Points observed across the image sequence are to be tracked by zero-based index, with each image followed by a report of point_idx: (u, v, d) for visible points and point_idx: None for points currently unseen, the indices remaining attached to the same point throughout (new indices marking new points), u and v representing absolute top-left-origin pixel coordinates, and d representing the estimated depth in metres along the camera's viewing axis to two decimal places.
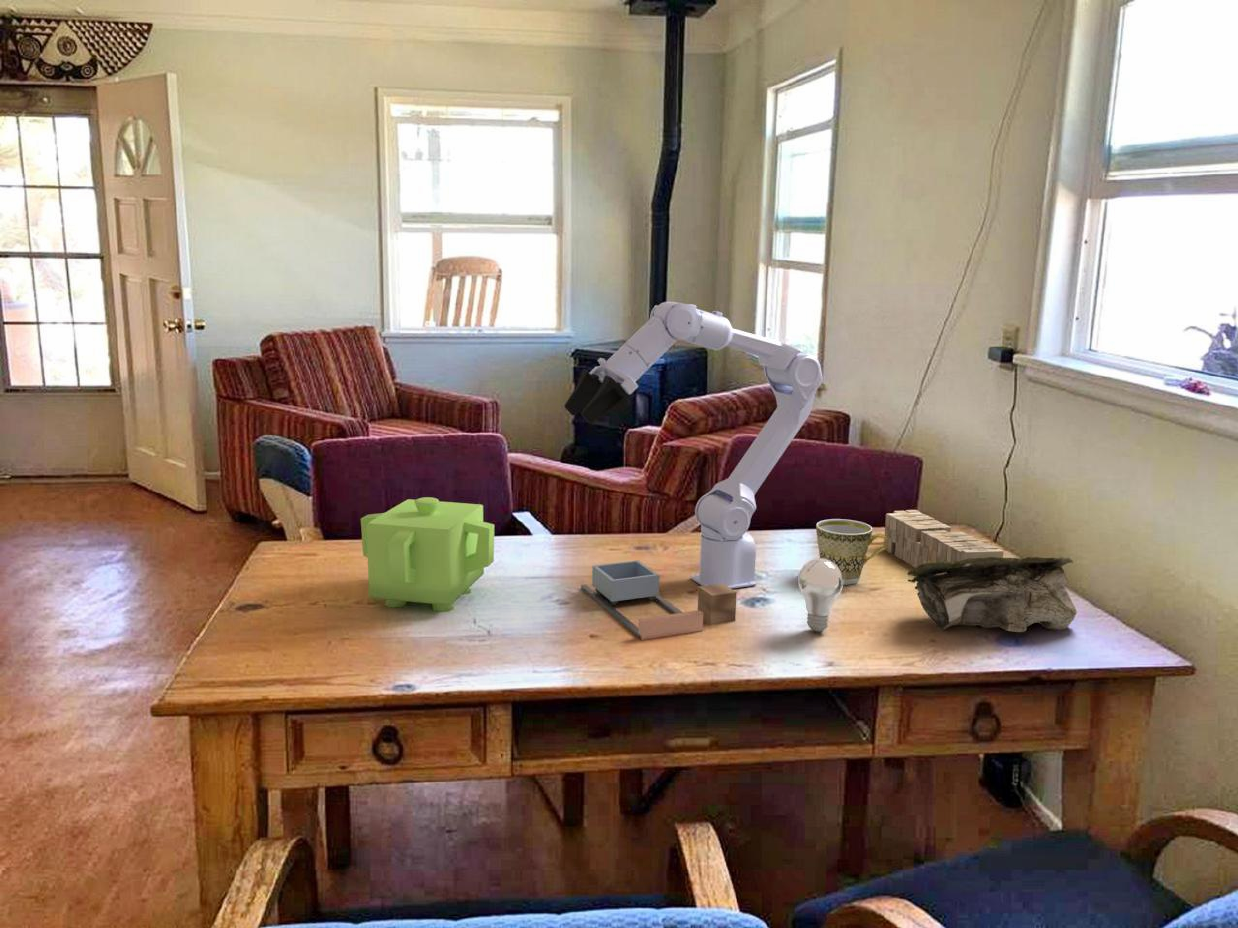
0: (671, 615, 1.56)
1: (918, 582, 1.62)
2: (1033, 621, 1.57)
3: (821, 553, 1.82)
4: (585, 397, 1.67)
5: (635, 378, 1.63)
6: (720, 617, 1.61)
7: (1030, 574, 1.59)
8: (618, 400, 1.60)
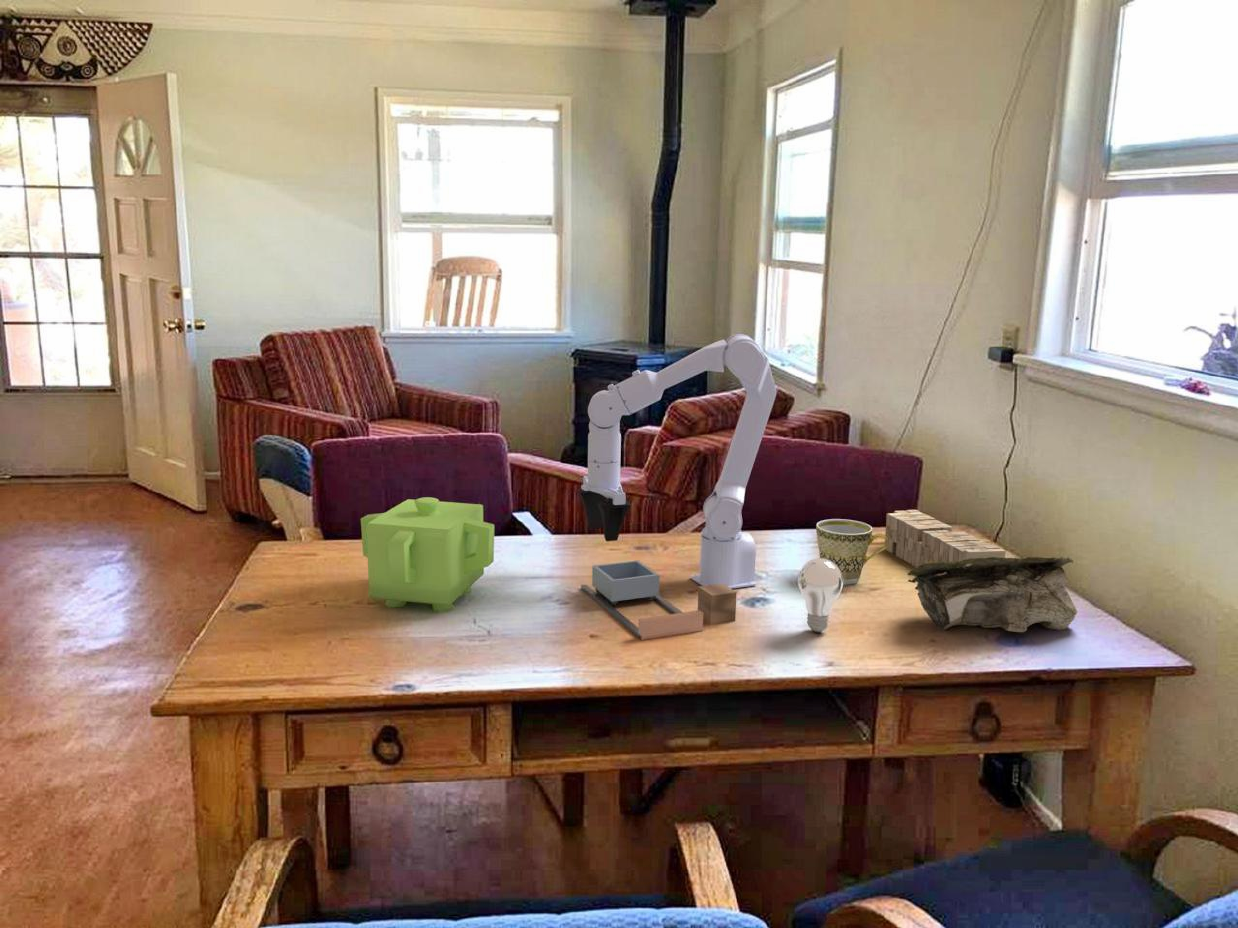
0: (671, 615, 1.56)
1: (918, 582, 1.62)
2: (1033, 621, 1.57)
3: (821, 553, 1.82)
4: (597, 509, 1.82)
5: (618, 477, 1.75)
6: (720, 617, 1.61)
7: (1030, 574, 1.59)
8: (621, 510, 1.74)
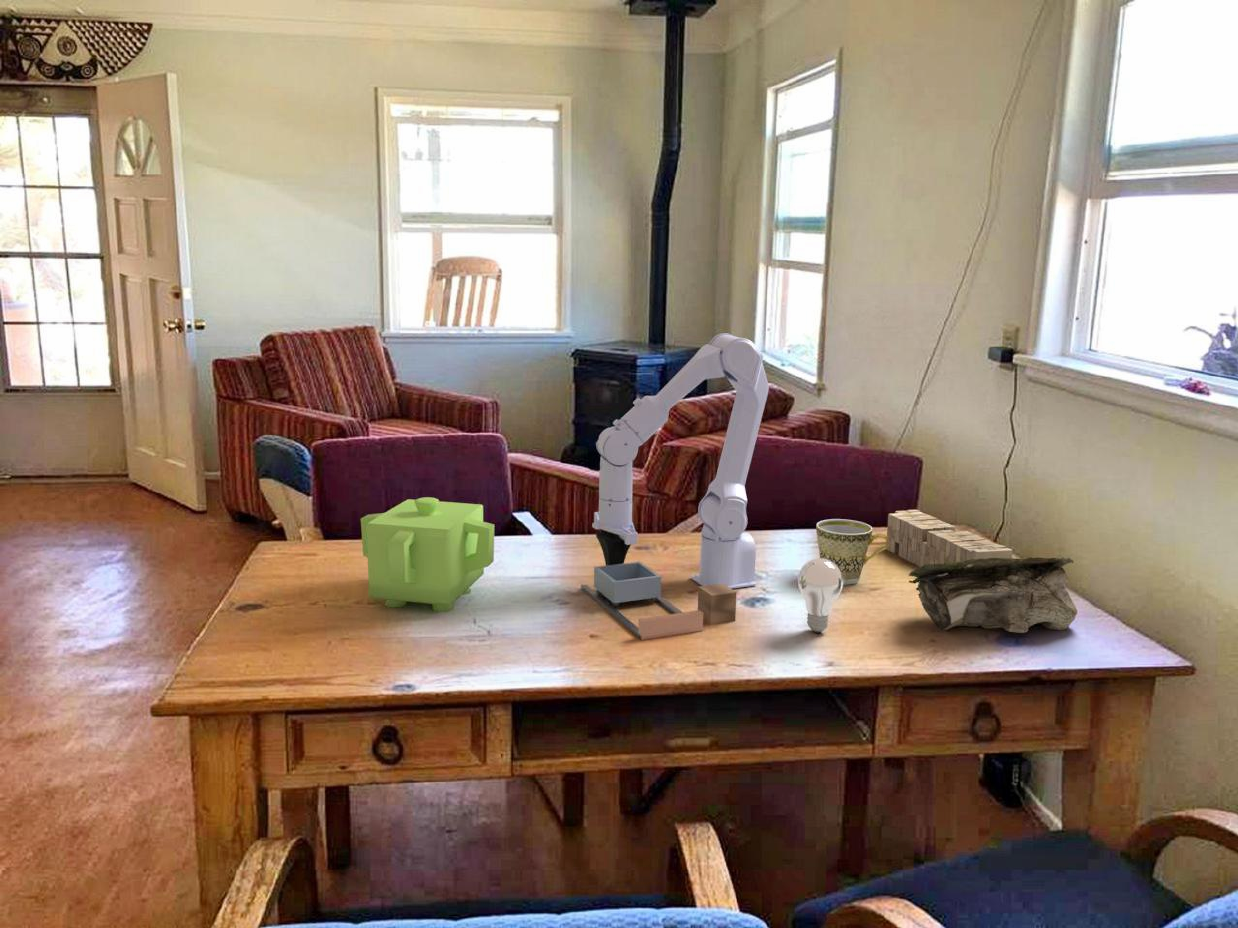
0: (671, 615, 1.56)
1: (919, 583, 1.61)
2: (1034, 622, 1.57)
3: (821, 553, 1.82)
4: None
5: (629, 515, 1.72)
6: (720, 617, 1.61)
7: (1031, 574, 1.59)
8: (624, 543, 1.73)
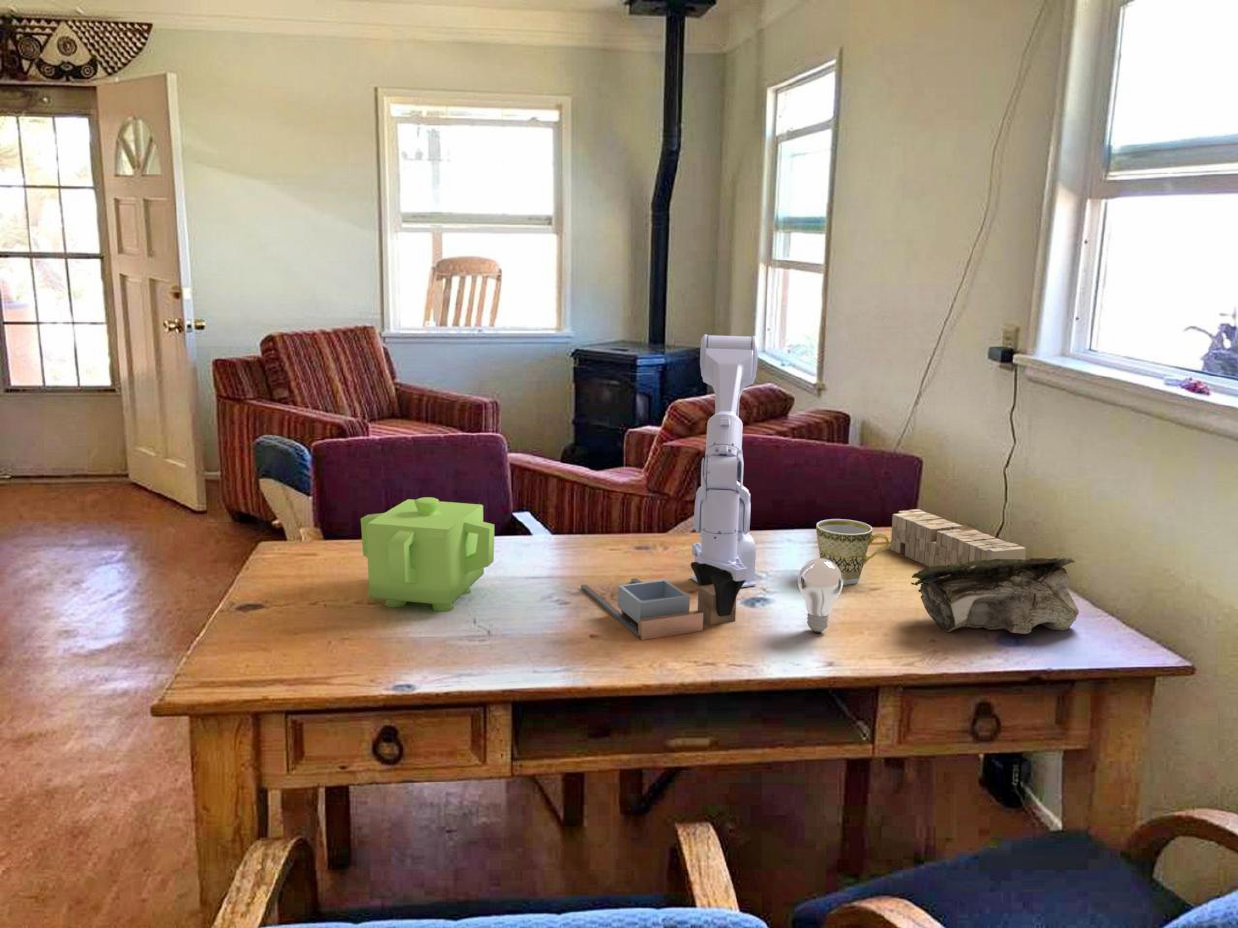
0: (671, 615, 1.56)
1: (922, 585, 1.61)
2: (1037, 622, 1.57)
3: (821, 553, 1.82)
4: (712, 583, 1.65)
5: (735, 548, 1.60)
6: (720, 617, 1.61)
7: (1033, 575, 1.59)
8: (736, 582, 1.59)
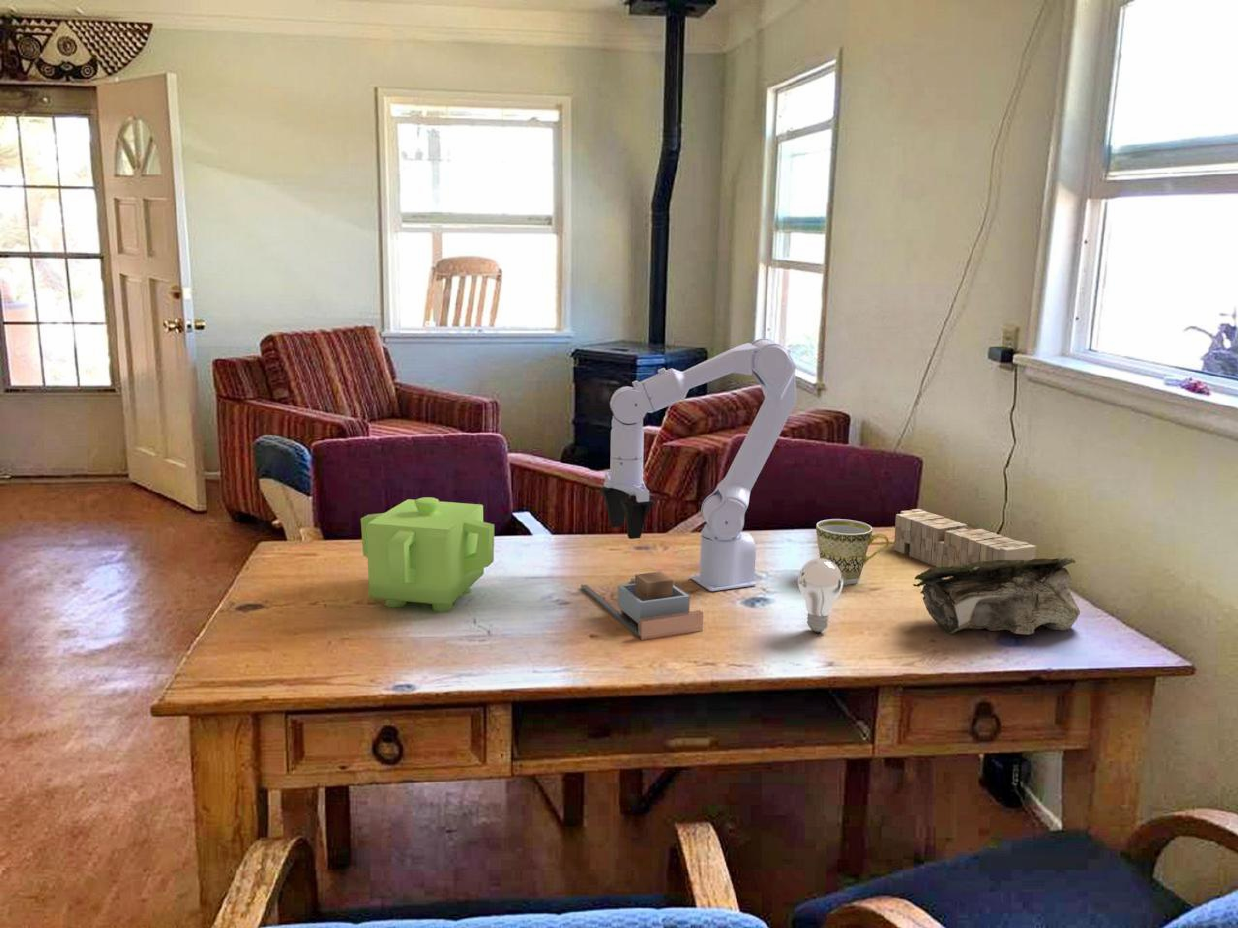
0: (671, 615, 1.56)
1: (924, 586, 1.60)
2: (1040, 623, 1.56)
3: (821, 553, 1.82)
4: (619, 506, 1.80)
5: (641, 474, 1.74)
6: None
7: (1035, 576, 1.58)
8: (644, 507, 1.72)
